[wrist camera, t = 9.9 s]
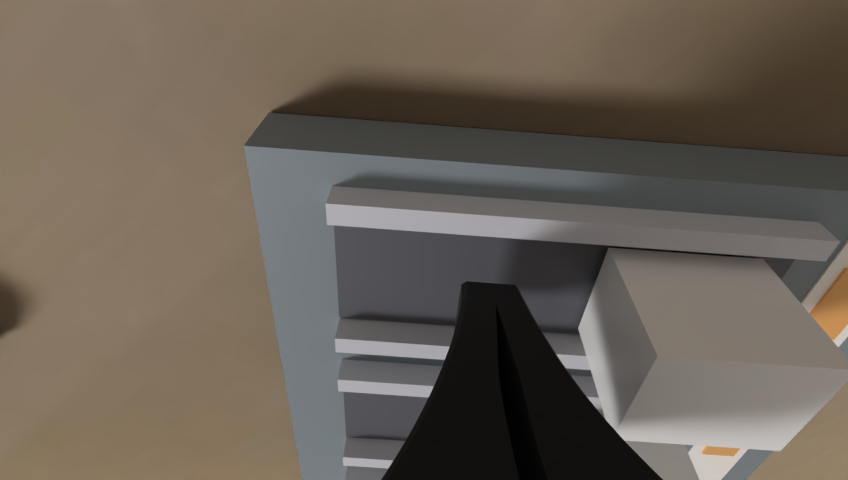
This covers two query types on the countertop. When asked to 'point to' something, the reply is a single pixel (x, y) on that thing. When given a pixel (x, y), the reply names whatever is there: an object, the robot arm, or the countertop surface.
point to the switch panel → (499, 254)
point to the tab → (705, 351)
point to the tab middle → (665, 459)
